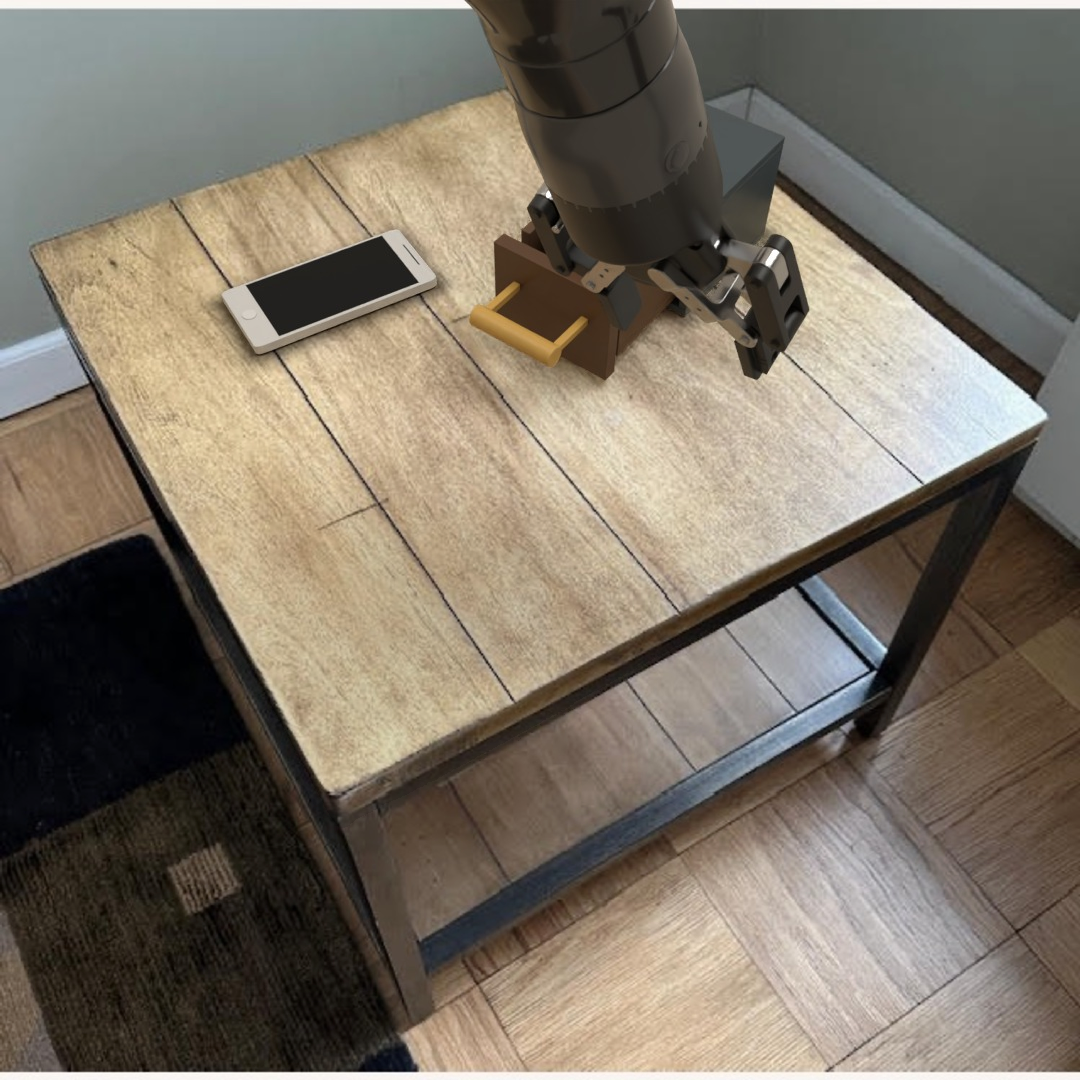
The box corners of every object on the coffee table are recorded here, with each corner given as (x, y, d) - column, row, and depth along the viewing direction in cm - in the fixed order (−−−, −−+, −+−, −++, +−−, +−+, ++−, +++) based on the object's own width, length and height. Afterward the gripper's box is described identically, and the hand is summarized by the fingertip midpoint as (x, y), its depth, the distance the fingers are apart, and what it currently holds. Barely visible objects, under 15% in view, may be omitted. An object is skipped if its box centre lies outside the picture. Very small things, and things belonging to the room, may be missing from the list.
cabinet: (684, 317, 86) (700, 218, 78) (566, 258, 90) (570, 159, 82) (764, 235, 92) (785, 136, 84) (650, 184, 95) (660, 84, 88)
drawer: (565, 421, 78) (568, 342, 72) (454, 359, 82) (448, 279, 75) (688, 297, 86) (700, 215, 80) (582, 245, 89) (586, 163, 83)
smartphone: (222, 300, 86) (219, 291, 85) (398, 235, 91) (397, 226, 90) (257, 356, 83) (255, 347, 82) (438, 286, 87) (438, 277, 87)
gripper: (811, 100, 44) (842, 326, 58) (534, 36, 51) (621, 252, 65) (719, 245, 43) (773, 440, 57) (446, 160, 50) (555, 353, 64)
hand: (692, 340), depth 61 cm, fingers open, 8 cm apart
